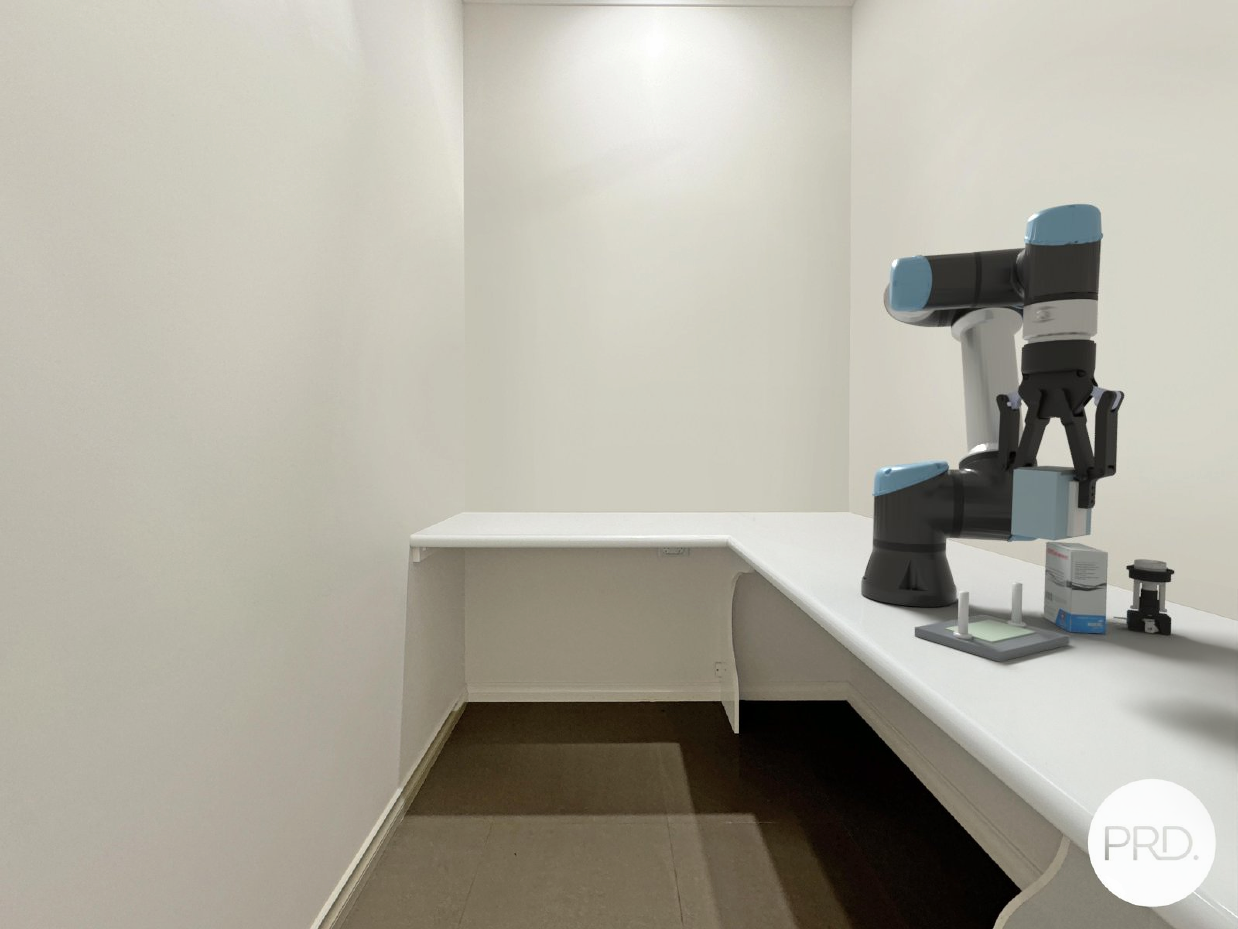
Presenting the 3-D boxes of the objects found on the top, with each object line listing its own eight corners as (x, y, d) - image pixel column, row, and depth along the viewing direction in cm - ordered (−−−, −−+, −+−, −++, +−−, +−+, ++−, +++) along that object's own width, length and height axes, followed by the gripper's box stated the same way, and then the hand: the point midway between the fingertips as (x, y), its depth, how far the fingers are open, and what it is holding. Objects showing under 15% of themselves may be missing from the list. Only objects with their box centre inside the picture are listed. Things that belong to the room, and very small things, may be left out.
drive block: (1010, 534, 81) (1013, 467, 81) (1047, 528, 85) (1049, 465, 85) (1054, 540, 77) (1057, 470, 76) (1090, 534, 81) (1094, 468, 80)
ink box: (1107, 635, 92) (1110, 551, 92) (1068, 632, 93) (1070, 550, 93) (1077, 618, 100) (1080, 542, 100) (1042, 616, 101) (1044, 540, 101)
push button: (1116, 632, 93) (1118, 562, 93) (1109, 622, 98) (1112, 556, 98) (1176, 639, 90) (1179, 566, 90) (1166, 629, 95) (1169, 560, 95)
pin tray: (914, 635, 91) (915, 584, 91) (982, 622, 98) (984, 574, 98) (998, 661, 81) (1000, 603, 80) (1068, 644, 87) (1070, 590, 87)
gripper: (968, 346, 85) (962, 524, 87) (1130, 330, 70) (1119, 547, 71) (1002, 349, 89) (996, 519, 91) (1163, 334, 73) (1152, 540, 75)
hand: (1050, 531), depth 81 cm, fingers closed on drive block, 5 cm apart
